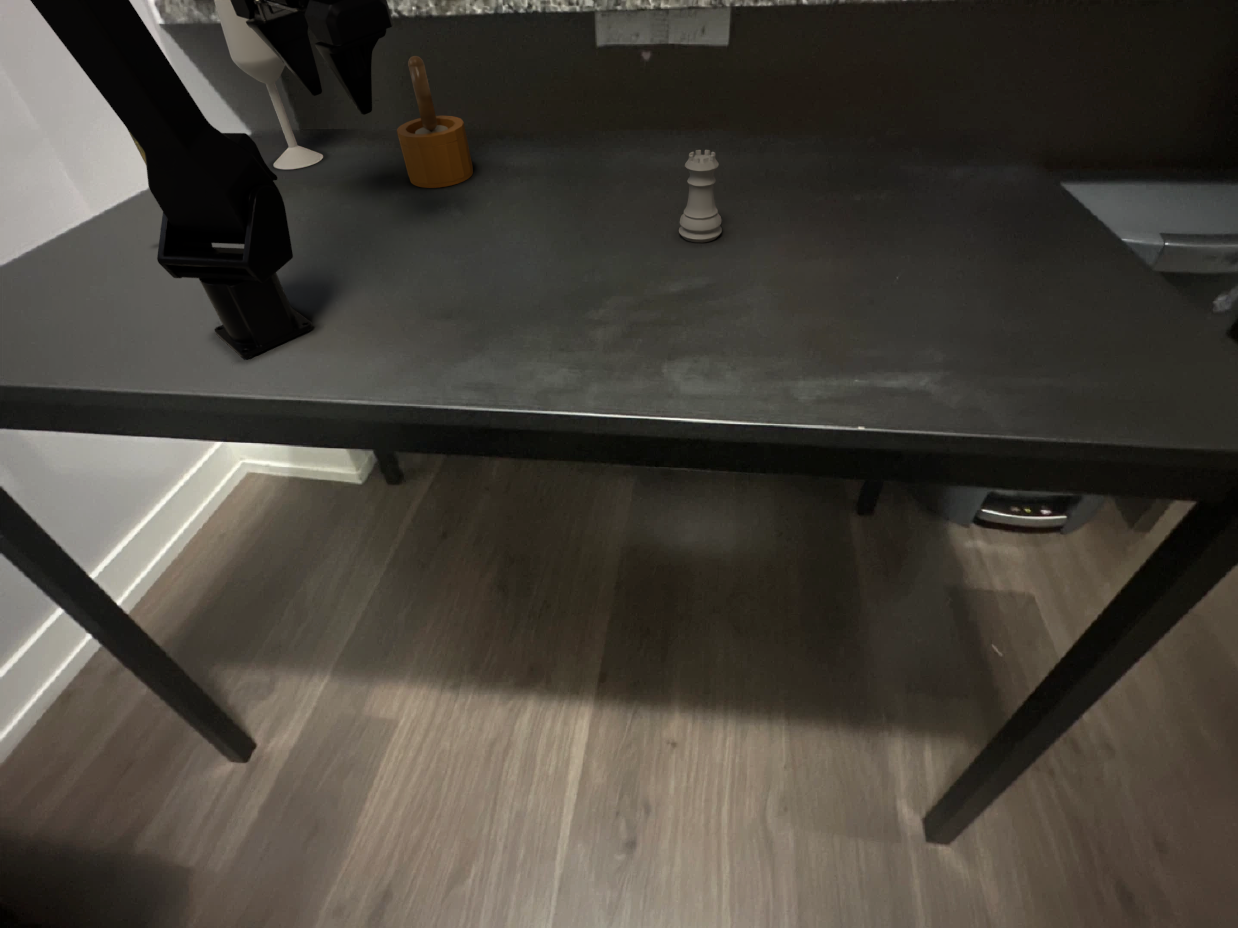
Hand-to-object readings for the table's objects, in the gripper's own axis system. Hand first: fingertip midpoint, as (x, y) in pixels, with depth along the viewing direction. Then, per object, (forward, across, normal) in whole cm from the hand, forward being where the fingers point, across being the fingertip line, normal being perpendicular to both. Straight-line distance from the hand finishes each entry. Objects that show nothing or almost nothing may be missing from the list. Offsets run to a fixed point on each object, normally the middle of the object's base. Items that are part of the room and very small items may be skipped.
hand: (341, 103), depth 69 cm
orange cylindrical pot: (+14, +5, -12) cm, 19 cm away
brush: (+13, +5, -12) cm, 19 cm away
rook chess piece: (+13, -32, -18) cm, 39 cm away
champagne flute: (+14, +28, -4) cm, 32 cm away
